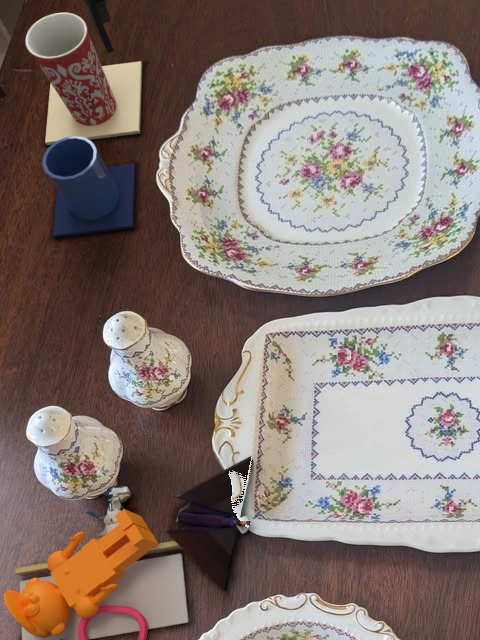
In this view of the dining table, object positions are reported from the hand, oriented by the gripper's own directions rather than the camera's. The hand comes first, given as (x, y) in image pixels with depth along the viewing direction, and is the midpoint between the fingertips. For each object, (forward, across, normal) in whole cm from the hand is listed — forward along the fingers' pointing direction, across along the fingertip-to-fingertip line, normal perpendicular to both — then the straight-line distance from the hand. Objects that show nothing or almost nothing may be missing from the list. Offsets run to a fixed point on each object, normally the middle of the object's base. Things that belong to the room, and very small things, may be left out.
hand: (53, 65), depth 94 cm
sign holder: (+17, -23, -51) cm, 59 cm away
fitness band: (+17, -25, -61) cm, 68 cm away
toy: (+17, -24, -54) cm, 61 cm away
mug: (+30, +4, +20) cm, 36 cm away
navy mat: (+27, -4, +1) cm, 27 cm away
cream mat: (+30, +4, +20) cm, 36 cm away
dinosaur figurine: (+15, -20, -53) cm, 59 cm away
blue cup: (+27, -4, +1) cm, 27 cm away
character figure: (+17, -13, -51) cm, 56 cm away
